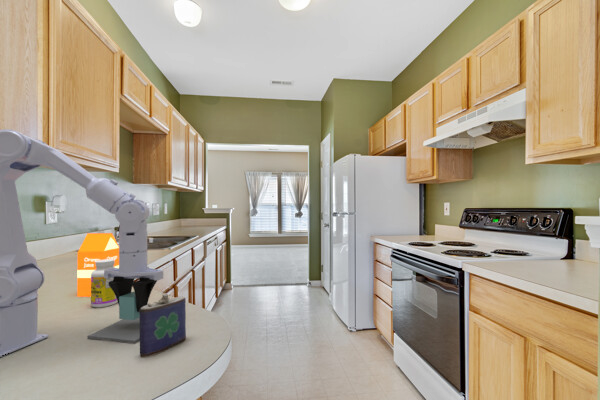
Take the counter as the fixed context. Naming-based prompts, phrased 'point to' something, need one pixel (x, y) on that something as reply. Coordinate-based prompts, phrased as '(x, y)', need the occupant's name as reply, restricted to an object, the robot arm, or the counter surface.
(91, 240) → the orange juice
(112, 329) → the mat
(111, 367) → the counter surface
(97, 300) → the supplement bottle
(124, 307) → the teal block
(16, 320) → the robot arm
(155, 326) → the flask
